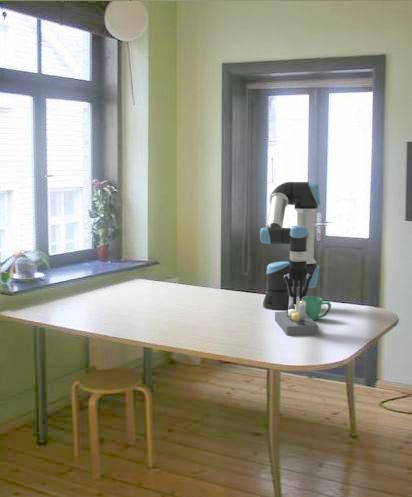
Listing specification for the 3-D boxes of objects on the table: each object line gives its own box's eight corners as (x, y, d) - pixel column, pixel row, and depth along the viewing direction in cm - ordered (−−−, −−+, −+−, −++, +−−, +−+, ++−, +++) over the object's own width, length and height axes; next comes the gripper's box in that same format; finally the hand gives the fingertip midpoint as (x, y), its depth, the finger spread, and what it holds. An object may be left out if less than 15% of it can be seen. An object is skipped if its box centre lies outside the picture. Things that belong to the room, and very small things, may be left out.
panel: (274, 320, 345) (274, 311, 345) (303, 319, 347) (303, 310, 346) (286, 335, 318) (287, 325, 317) (318, 334, 319) (318, 325, 319)
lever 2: (296, 319, 323) (298, 299, 318) (303, 319, 323) (305, 298, 318) (298, 323, 320) (300, 302, 315) (304, 323, 321) (307, 302, 315)
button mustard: (290, 321, 331) (290, 312, 331) (301, 320, 332) (301, 312, 331) (292, 323, 326) (293, 315, 326) (303, 323, 327) (303, 314, 326)
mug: (298, 319, 347) (298, 299, 345) (306, 315, 355) (307, 295, 353) (326, 323, 339) (327, 302, 337) (334, 319, 347) (335, 299, 345)
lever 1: (286, 309, 344) (288, 289, 338) (293, 309, 344) (295, 289, 339) (288, 312, 341) (290, 293, 336) (294, 312, 341) (296, 292, 336)
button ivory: (287, 317, 339) (287, 309, 338) (297, 317, 339) (297, 308, 338) (289, 319, 334) (289, 311, 333) (300, 319, 334) (300, 311, 334)
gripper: (285, 261, 321) (284, 313, 324) (314, 261, 322) (313, 312, 325) (282, 259, 328) (281, 309, 331) (310, 258, 329) (309, 309, 332)
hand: (297, 311), depth 328 cm, fingers closed
